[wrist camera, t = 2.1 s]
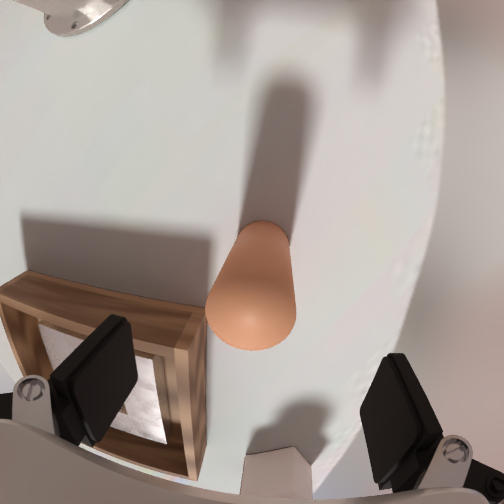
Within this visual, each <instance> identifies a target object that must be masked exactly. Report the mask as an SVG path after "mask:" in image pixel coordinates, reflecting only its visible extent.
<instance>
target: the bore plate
mask: <svg viewBox="0 0 504 504" xmlns="http://www.w3.org/2000/svg"><path fill="white" fill-rule="evenodd" d="M38 326H39V329H40V333H41V336H42V339H43V342H44V345H45V348H46V351H47V354H48V357H49V360H50V362H51V365H52V368H53V370H55V369H56V368H57V367H58V366H59V365H60V364H61V363H62V362H63V361H64V360H65V359H66V358H67V357H68V356H69V355H70V354H71V353H72V352H73V351H74V350H75V349H76V348H77V347H78V346H79V345H80V344H81V343H82V342H83V341H84V340H85V339H86V338H87V337H88V336H87V335H84V334H80V333H77V332H74V331H72V330H69V329H66V328H63V327H60V326H57V325H55V324H52V323H49V322H47V321H44V320H41V321H40V322H39V323H38ZM134 352H135V359H136V365H137V371H138V380H137V383H136V385H135V386H134V388H133V390H132V391H131V393H130V394H129V396H128V398H127V399H126V401H125V402H124V404H123V406H122V407H121V409H120V410H119V412H118V414H117V415H116V417H115V419H114V420H113V422H112V424H111V425H110V426H111V427H113V428H116V429H119V430H122V431H125V432H128V433H131V434H134V435H137V436H140V437H143V438H146V439H150V440H153V441H157V442H160V443H164V444H167V443H168V440H169V438H170V435H171V432H172V430H173V429H172V423H171V416H170V410H169V403H168V395H167V388H166V379H165V371H164V361H163V356H160V355H155V354H151V353H147V352H143V351H139V350H135V349H134Z"/></svg>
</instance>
